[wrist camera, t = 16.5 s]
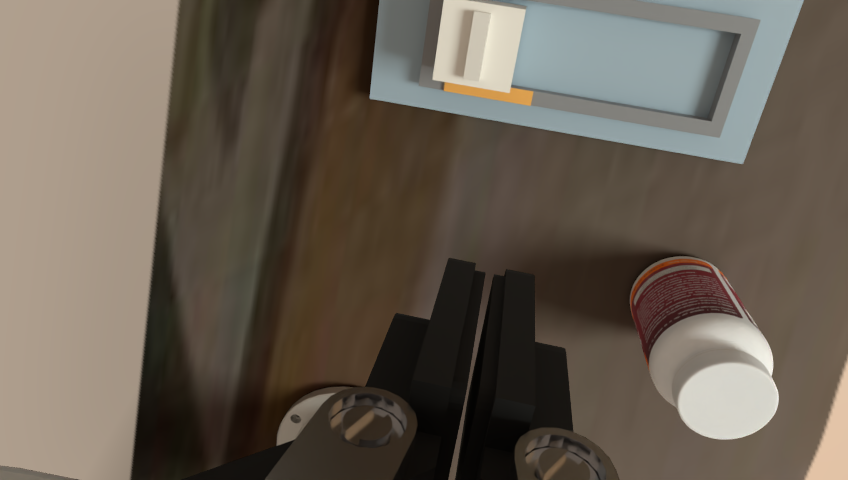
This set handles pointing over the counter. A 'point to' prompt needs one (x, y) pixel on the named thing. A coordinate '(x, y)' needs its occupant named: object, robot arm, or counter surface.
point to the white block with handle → (478, 43)
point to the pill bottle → (703, 348)
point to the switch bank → (608, 69)
